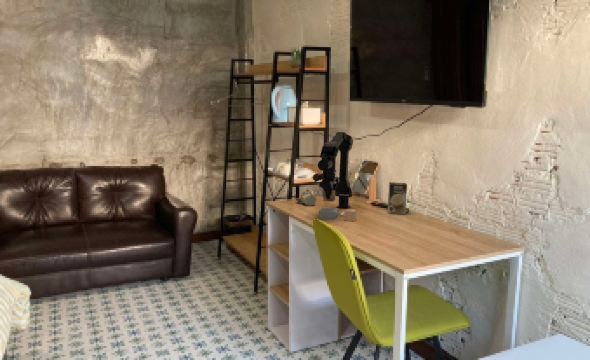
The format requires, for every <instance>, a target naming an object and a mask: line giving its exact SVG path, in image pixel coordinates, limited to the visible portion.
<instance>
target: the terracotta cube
mask: <svg viewBox="0 0 590 360" xmlns="http://www.w3.org/2000/svg"><path fill="white" fill-rule="evenodd" d="M344 212H345V216H344V222H355V221H356V220H357V212H358V211H357V209H351V208H345V210H344Z"/></svg>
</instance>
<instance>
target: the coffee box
mask: <svg viewBox="0 0 590 360" xmlns="http://www.w3.org/2000/svg"><path fill="white" fill-rule="evenodd" d="M407 191H408V184H407V183H406V182H389V183H388V195H387V196H388V197H387V198H388V199H387V213H388V214H389V215H392V214H393V215H406V210H407V209H406V208H407Z"/></svg>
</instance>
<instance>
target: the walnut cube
mask: <svg viewBox="0 0 590 360" xmlns="http://www.w3.org/2000/svg"><path fill="white" fill-rule="evenodd" d="M322 193H323V194H322V197H323V198H322V201H323V202H334V201H335V200H336V196H335V190H332V193H331V196H330V198H329V200H328V199H327V198H326V194H325V190H323V192H322Z"/></svg>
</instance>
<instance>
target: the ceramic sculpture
mask: <svg viewBox="0 0 590 360" xmlns="http://www.w3.org/2000/svg"><path fill="white" fill-rule="evenodd" d="M295 201H297V203H302V204H305V205H306V206H308V207H311V206H314V205H316V202H317V197H316V196H315V195H314V194H313V193H312V191H311V190H309V189H306V191H303V192H302V193H301V195H300V196H299V197H296V198H295Z"/></svg>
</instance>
